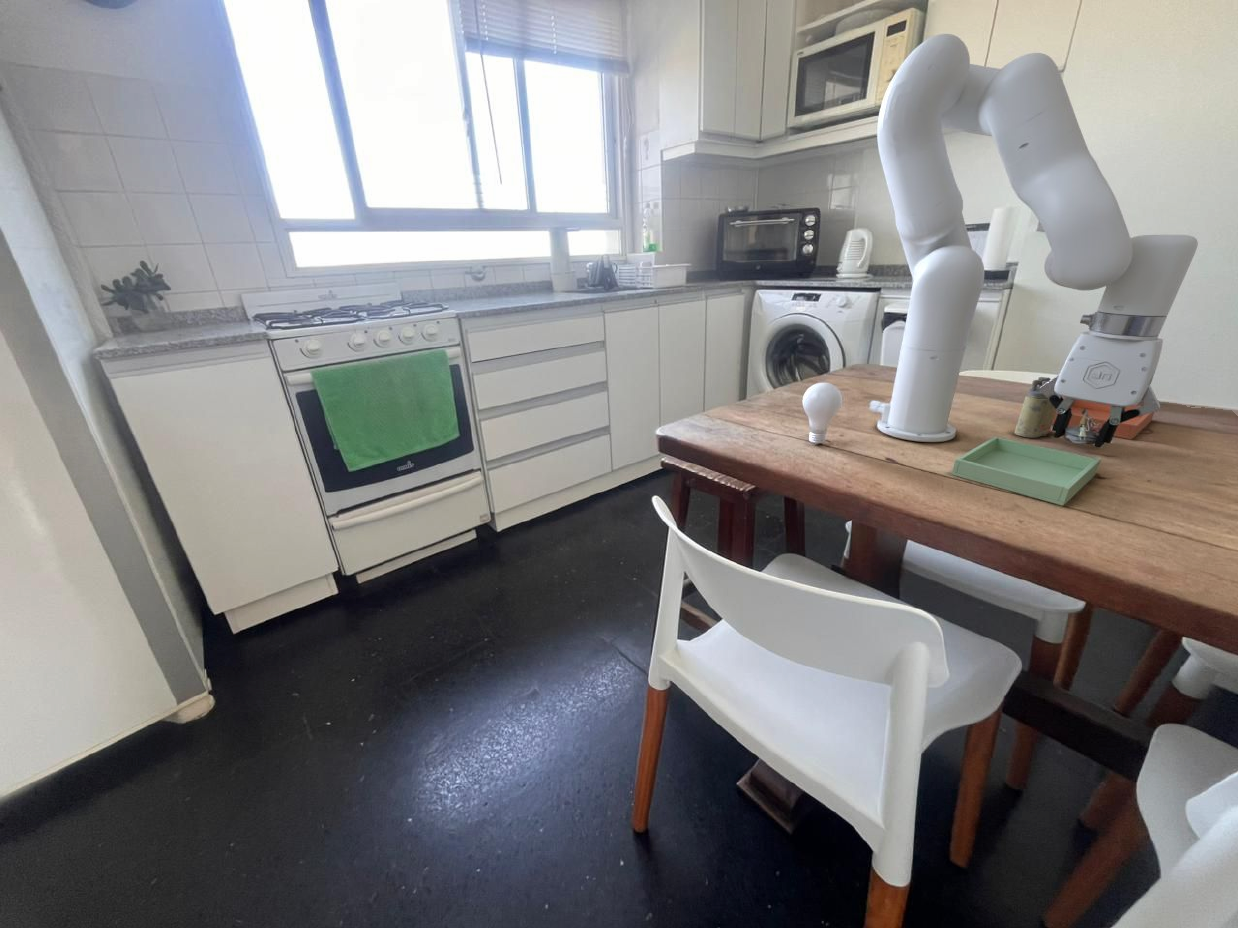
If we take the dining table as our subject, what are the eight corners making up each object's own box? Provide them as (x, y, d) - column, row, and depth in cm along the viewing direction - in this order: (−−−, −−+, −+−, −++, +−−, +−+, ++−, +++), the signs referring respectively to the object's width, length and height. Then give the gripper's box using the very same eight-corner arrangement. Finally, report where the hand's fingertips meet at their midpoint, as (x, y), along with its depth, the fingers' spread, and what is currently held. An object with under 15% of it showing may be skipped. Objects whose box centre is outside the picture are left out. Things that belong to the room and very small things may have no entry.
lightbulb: (791, 444, 87) (798, 383, 83) (806, 435, 91) (813, 376, 87) (827, 453, 83) (836, 389, 79) (841, 442, 87) (850, 381, 83)
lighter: (1030, 427, 92) (1047, 374, 88) (1055, 432, 89) (1073, 378, 85) (1010, 434, 89) (1026, 379, 85) (1034, 440, 85) (1052, 383, 82)
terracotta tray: (1037, 421, 94) (1041, 409, 93) (1062, 406, 103) (1066, 395, 102) (1132, 439, 84) (1137, 425, 83) (1150, 421, 93) (1156, 408, 92)
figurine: (1058, 436, 84) (1071, 402, 81) (1092, 442, 81) (1107, 407, 79) (1061, 446, 80) (1075, 410, 77) (1097, 452, 77) (1113, 416, 75)
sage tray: (951, 474, 74) (955, 459, 73) (990, 450, 82) (994, 436, 81) (1063, 506, 64) (1069, 488, 63) (1095, 474, 72) (1101, 459, 71)
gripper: (1047, 321, 77) (1009, 431, 84) (1205, 336, 65) (1144, 463, 72) (1061, 318, 81) (1024, 422, 89) (1213, 331, 69) (1155, 451, 76)
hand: (1078, 439), depth 80 cm, fingers closed on figurine, 4 cm apart
